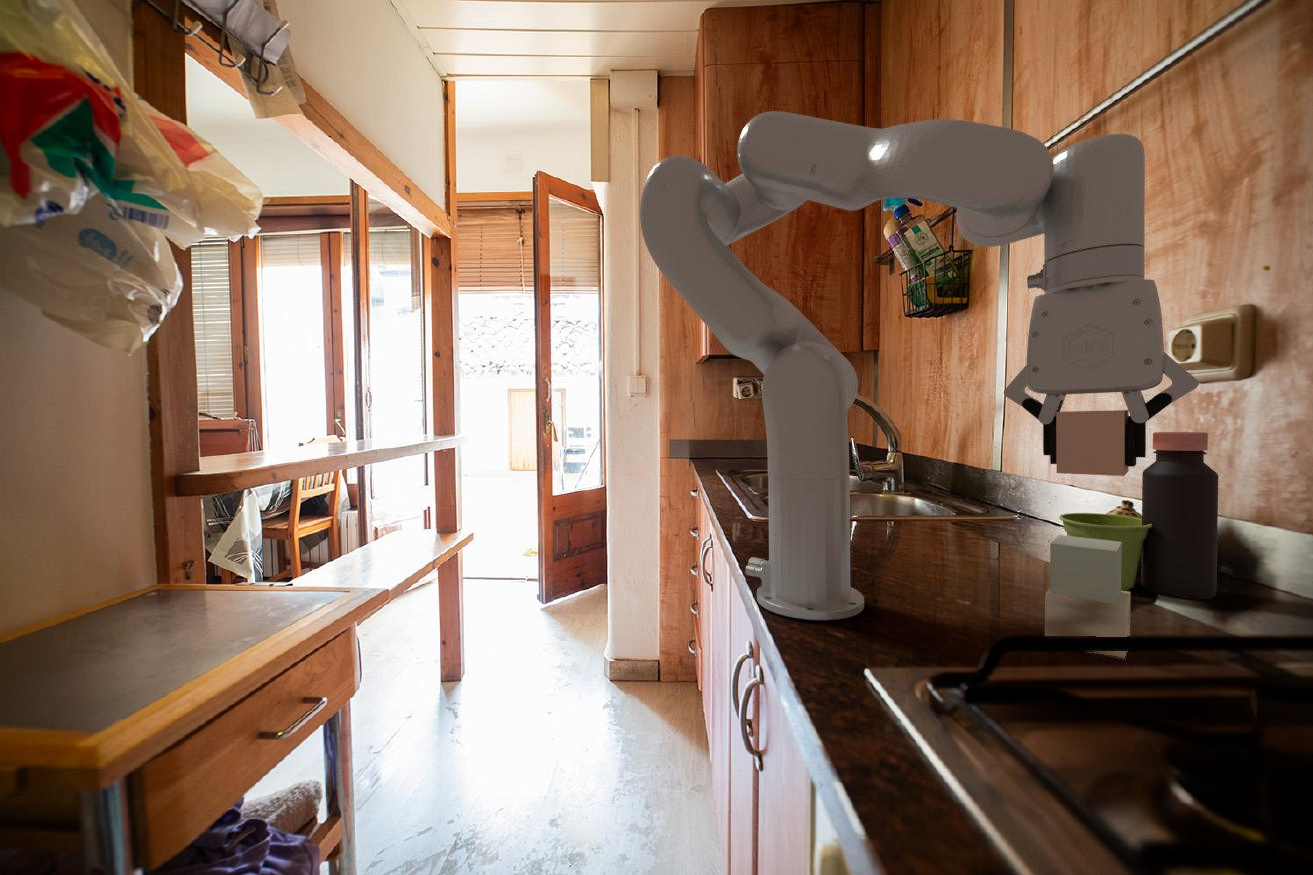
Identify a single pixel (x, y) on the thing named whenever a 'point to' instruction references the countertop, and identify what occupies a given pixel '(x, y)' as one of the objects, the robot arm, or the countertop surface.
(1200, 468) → the bottle
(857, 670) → the countertop surface
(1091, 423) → the block
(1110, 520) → the plant pot
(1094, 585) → the tower top
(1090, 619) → the tower base
